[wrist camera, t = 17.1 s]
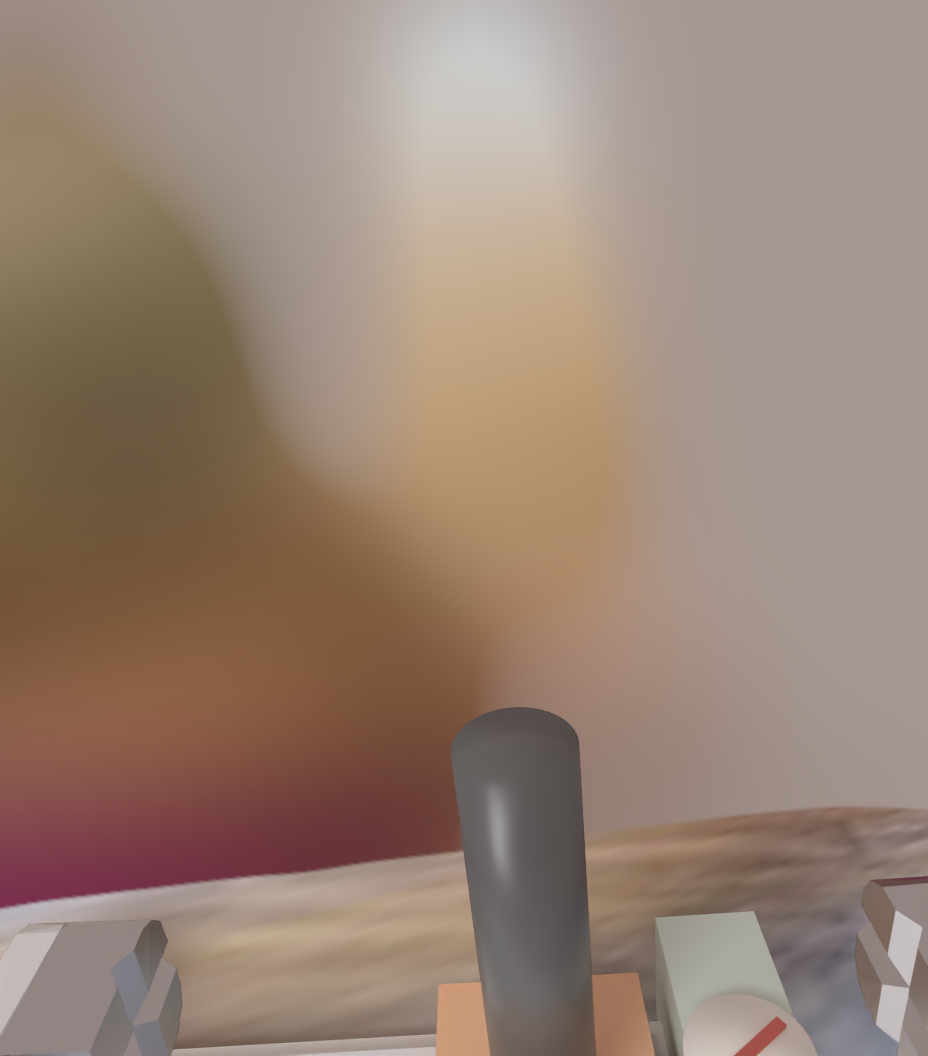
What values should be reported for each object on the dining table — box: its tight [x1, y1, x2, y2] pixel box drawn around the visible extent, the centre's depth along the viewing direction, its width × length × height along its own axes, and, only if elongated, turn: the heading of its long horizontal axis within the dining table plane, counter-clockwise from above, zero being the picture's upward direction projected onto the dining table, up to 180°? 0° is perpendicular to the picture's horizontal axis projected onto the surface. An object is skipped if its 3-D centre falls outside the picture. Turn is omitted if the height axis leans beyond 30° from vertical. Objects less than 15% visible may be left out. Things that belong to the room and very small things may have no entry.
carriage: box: [436, 707, 655, 1056], centre depth 27 cm, size 8×9×17 cm
